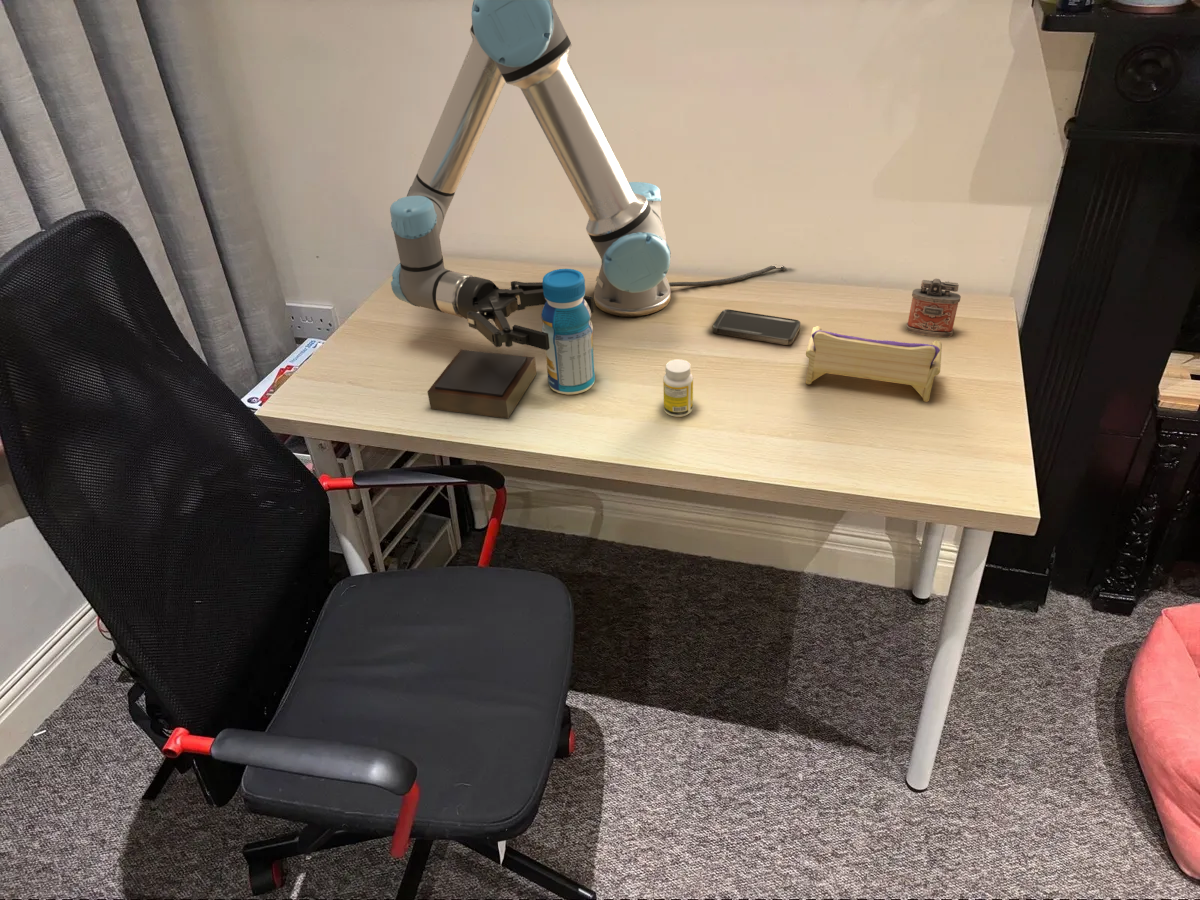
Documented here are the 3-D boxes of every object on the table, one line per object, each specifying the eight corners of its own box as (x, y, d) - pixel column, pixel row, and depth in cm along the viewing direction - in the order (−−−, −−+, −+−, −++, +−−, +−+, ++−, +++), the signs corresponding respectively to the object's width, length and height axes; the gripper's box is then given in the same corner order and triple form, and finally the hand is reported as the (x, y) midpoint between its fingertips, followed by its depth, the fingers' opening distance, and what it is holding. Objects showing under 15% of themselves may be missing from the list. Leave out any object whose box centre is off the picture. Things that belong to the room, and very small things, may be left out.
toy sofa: (935, 375, 145) (946, 321, 139) (933, 403, 138) (945, 348, 132) (809, 359, 151) (814, 307, 145) (801, 385, 144) (807, 332, 138)
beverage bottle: (578, 401, 144) (570, 293, 132) (537, 388, 148) (526, 282, 136) (605, 377, 150) (599, 271, 137) (565, 365, 153) (556, 261, 141)
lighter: (904, 332, 157) (914, 282, 151) (906, 323, 159) (916, 274, 153) (951, 338, 154) (963, 288, 148) (953, 330, 156) (964, 279, 150)
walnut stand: (536, 374, 152) (534, 354, 149) (508, 418, 141) (505, 398, 139) (463, 365, 155) (460, 346, 153) (430, 408, 144) (426, 389, 142)
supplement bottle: (676, 397, 143) (677, 354, 138) (698, 408, 141) (699, 364, 135) (657, 410, 141) (657, 366, 136) (679, 421, 138) (679, 376, 133)
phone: (723, 308, 165) (801, 320, 159) (723, 313, 165) (801, 325, 160) (711, 327, 159) (791, 340, 154) (710, 333, 160) (790, 346, 154)
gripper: (513, 287, 161) (610, 310, 152) (426, 348, 144) (529, 379, 135) (508, 249, 156) (608, 271, 147) (418, 308, 140) (524, 337, 130)
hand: (570, 323), depth 141 cm, fingers open, 13 cm apart
